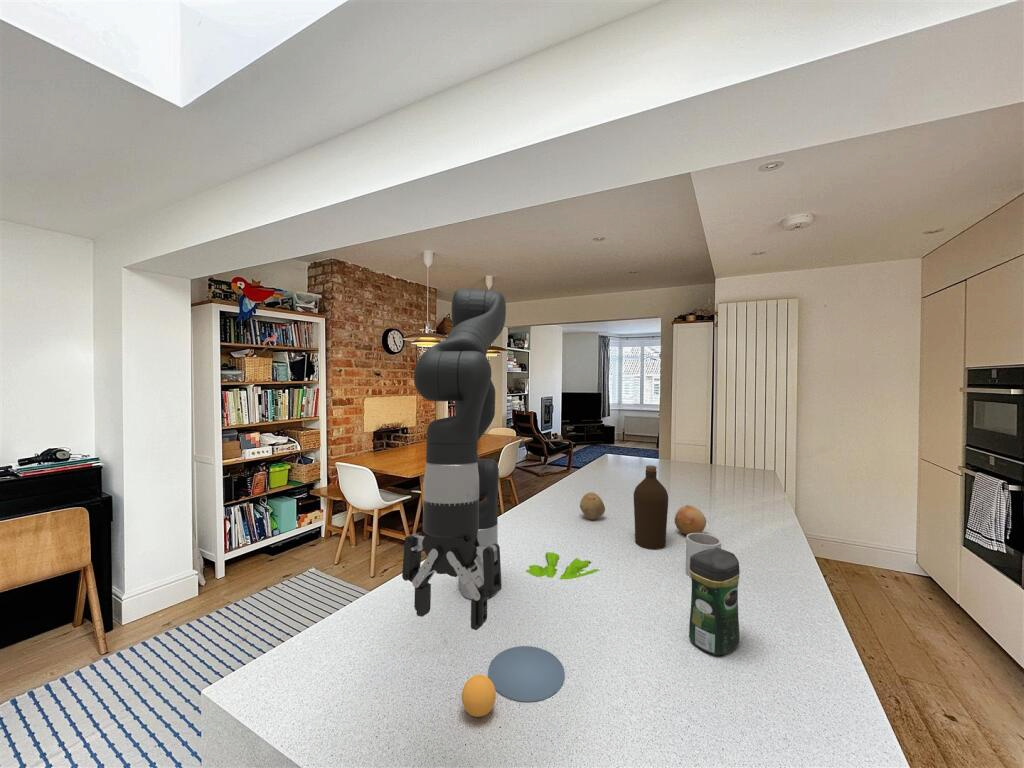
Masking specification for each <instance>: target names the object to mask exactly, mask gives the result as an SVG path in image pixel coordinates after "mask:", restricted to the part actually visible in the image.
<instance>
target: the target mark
mask: <svg viewBox="0 0 1024 768" xmlns="http://www.w3.org/2000/svg"><path fill="white" fill-rule="evenodd" d="M565 674H566V672H565V668H564V666H563V663H562V662H561V661H560V660H559V658H558V657H557V656H555V655H554V654H553V653H551V652H550V651H548V650H546V649H544V648H541V647H536V646H531V645H530V646H529V645H519V646H514V647H510V648H509V647H508V648H507V649H504V650H503V651H500V652H499V653H498V654H496V655H495V656H494V658H492V660H491V661H490V664H489V665H488V669H487V675H488V676H487V677H488V678H489V679H490V680H491V681H492V682H493V684H494V687H495V690H496V692H497V693H498V694H499V695H501V696H502V697H504V698H506V699H509V700H512V701H516V702H520V703H536V702H540V701H544V700H547V699H549V698H551V697H553V696H554V695H555V694H556V693H558V691H560V690H561V689H562V686H563V685H564V682H565V678H566V677H565V676H566V675H565Z"/></svg>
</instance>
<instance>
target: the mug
mask: <svg viewBox="0 0 1024 768" xmlns="http://www.w3.org/2000/svg"><path fill="white" fill-rule="evenodd" d="M685 541H686V544H685V546H686V547H685V575H687V577H688V576H689V578H690V579H691V575H690V570H689V569H690V557H691V556H692V555H694V554H696V553H698V552H701V551H704V550H707V549H713V548H715V547H717V548H720V549H722V540H721V539H720V538H719V537H717V536H715V535H712V534H709V533H703V532H702V533H690V534H688V535H686V540H685Z"/></svg>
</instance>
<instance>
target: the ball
mask: <svg viewBox="0 0 1024 768" xmlns="http://www.w3.org/2000/svg"><path fill="white" fill-rule="evenodd" d="M461 691H462V692H461V702H462V705H463V707H464V710H465V711H466V713H467V714H469V715H470V716H472V717H475V718H480V717H484V716H486V715H487V714H488V713H489V712H490V711H491V710H492V709H493V708H494V705H495V703H496V697H497V693H496V692H497V691H496V690H495V687H494V684H493V682H492V681H491V680H490V679H489V678H488V676H487V675H485V674H474V675H473V676H471V677H469V679H467V680H466V682H465V684H464V685H463V688H462V690H461Z"/></svg>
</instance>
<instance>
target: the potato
mask: <svg viewBox="0 0 1024 768" xmlns="http://www.w3.org/2000/svg"><path fill="white" fill-rule="evenodd" d="M579 508H580V510H581V512H582V513H583V515H584V516H585V517H586V518H587V519H589V520H591V521H592V520H594V521H595V520H596V519H597V518H599V517H601V516H603V515H604V514H605V512H606V507H605V504H604V501H603V500H602V498H601V497H600V496H599V495H598V494H597V493H595V492H587V493H585V494H584V495H583V496H582V498H581V500H580V503H579Z"/></svg>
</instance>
